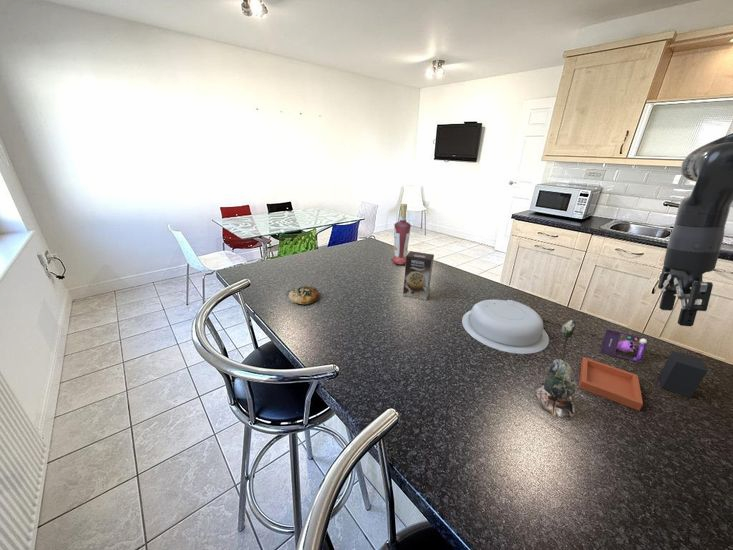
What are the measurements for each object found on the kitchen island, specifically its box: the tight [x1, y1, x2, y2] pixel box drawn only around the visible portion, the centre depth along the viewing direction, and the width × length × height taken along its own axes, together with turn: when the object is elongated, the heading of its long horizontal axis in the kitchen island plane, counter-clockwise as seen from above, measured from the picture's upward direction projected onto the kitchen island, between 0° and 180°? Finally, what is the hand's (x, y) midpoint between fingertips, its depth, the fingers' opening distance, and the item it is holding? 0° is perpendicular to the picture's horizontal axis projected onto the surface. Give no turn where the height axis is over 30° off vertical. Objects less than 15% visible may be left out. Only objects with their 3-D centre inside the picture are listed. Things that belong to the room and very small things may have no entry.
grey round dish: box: [461, 299, 550, 355], centre depth 91 cm, size 25×25×6 cm
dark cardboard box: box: [402, 250, 435, 301], centre depth 108 cm, size 9×6×16 cm
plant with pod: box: [534, 319, 578, 420], centre depth 61 cm, size 8×11×20 cm
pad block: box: [657, 350, 708, 399], centre depth 69 cm, size 5×5×8 cm
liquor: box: [392, 203, 412, 266], centre depth 134 cm, size 7×7×28 cm
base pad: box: [578, 356, 644, 412], centre depth 70 cm, size 11×11×2 cm
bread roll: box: [288, 285, 320, 306], centre depth 106 cm, size 11×11×5 cm
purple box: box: [599, 328, 650, 364], centre depth 81 cm, size 7×5×9 cm
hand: (674, 317), depth 66 cm, fingers open, 8 cm apart
